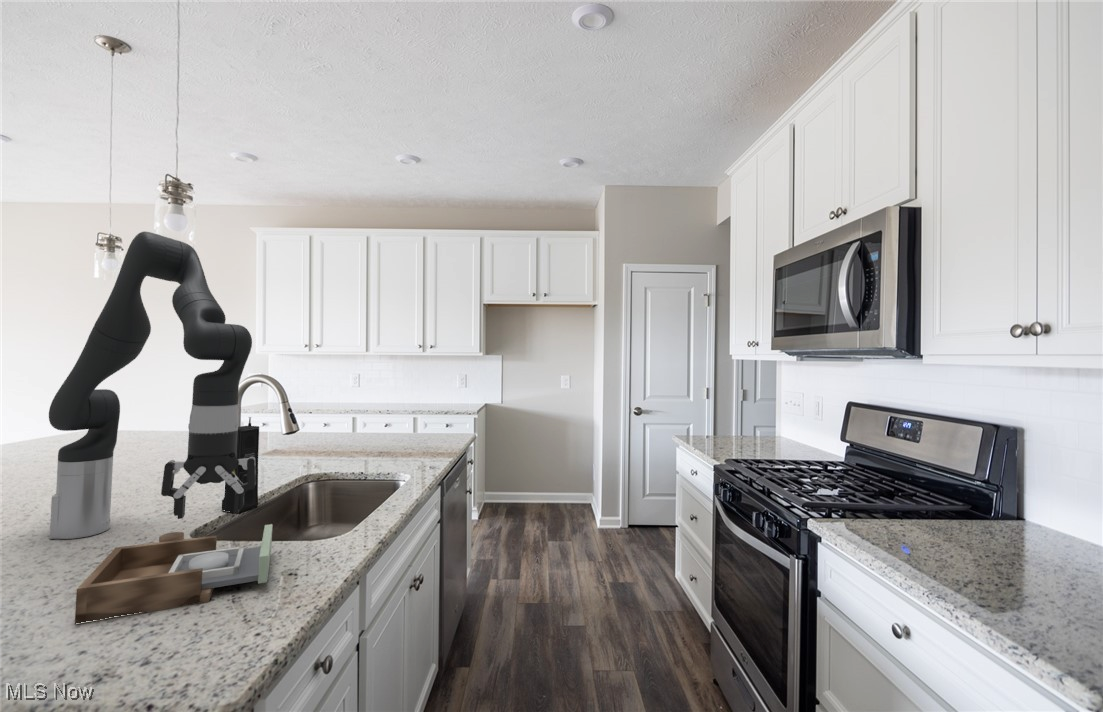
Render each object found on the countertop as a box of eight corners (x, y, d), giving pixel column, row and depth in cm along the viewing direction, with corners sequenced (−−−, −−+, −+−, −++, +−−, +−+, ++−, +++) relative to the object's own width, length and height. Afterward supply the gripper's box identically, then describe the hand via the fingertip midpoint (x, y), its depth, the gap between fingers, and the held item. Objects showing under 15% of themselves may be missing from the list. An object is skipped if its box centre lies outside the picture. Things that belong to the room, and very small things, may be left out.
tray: (154, 601, 77) (156, 571, 77) (178, 559, 93) (179, 534, 93) (267, 582, 85) (268, 555, 85) (271, 547, 101) (272, 524, 101)
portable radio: (236, 515, 124) (240, 421, 125) (217, 513, 126) (221, 419, 126) (260, 506, 132) (264, 417, 133) (241, 504, 133) (245, 416, 134)
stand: (155, 565, 94) (156, 540, 94) (160, 557, 97) (161, 533, 97) (180, 561, 96) (181, 537, 96) (184, 554, 99) (185, 530, 99)
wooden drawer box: (74, 624, 73) (76, 589, 73) (114, 576, 88) (115, 547, 89) (209, 601, 81) (210, 569, 81) (223, 561, 97) (224, 534, 97)
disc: (185, 576, 84) (185, 567, 84) (192, 563, 89) (192, 555, 89) (225, 570, 87) (226, 561, 87) (230, 558, 92) (230, 550, 92)
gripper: (259, 424, 95) (255, 505, 95) (171, 426, 88) (166, 513, 88) (257, 430, 89) (252, 516, 88) (160, 432, 82) (155, 526, 81)
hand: (209, 514), depth 88 cm, fingers open, 8 cm apart
